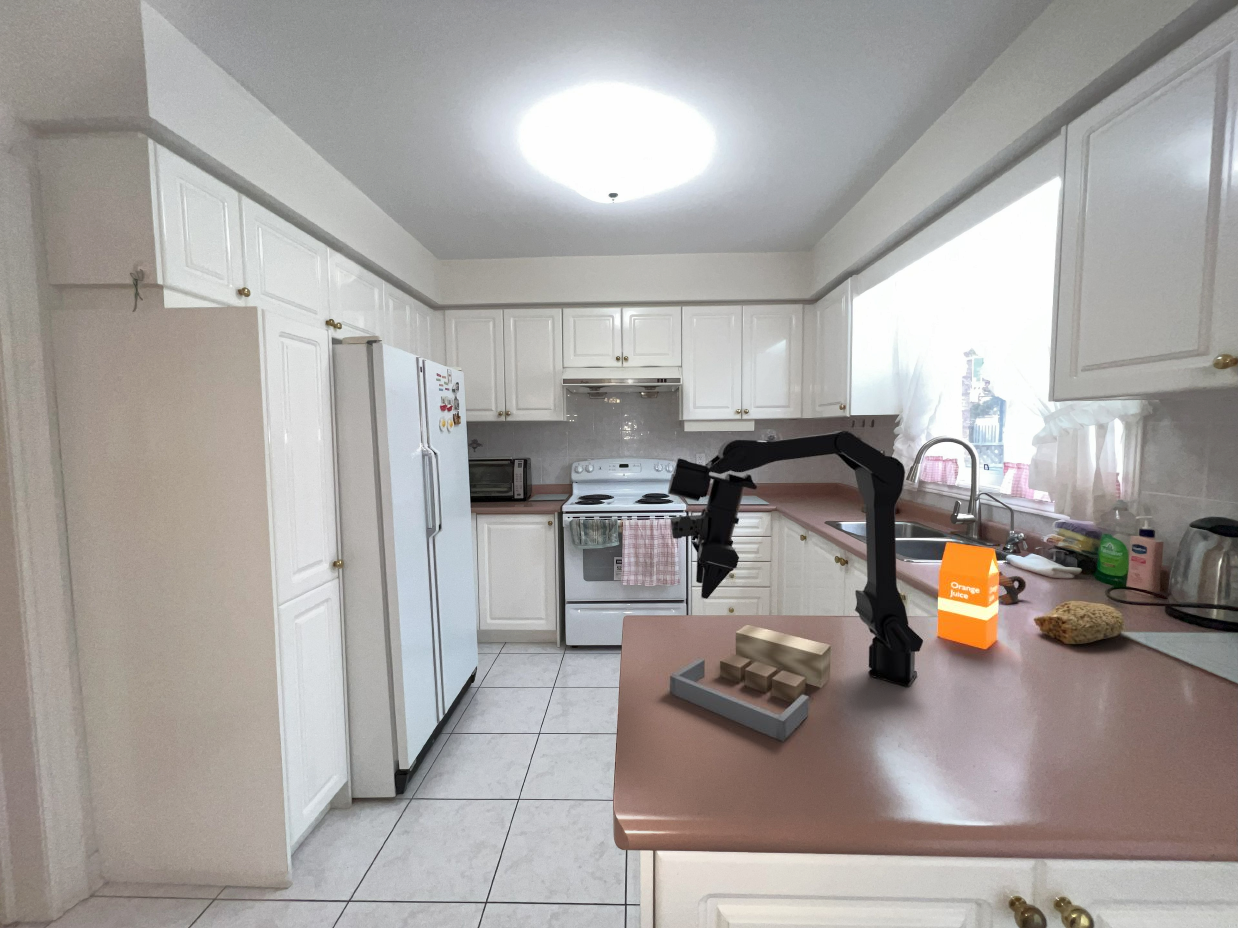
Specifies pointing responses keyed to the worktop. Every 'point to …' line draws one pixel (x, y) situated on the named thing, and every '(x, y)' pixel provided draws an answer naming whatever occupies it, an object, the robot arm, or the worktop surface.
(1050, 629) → the tan porous lump
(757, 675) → the block
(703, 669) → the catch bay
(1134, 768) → the worktop surface
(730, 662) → the walnut chip
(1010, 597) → the pottery mug
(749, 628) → the block
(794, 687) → the walnut chip
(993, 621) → the orange juice
